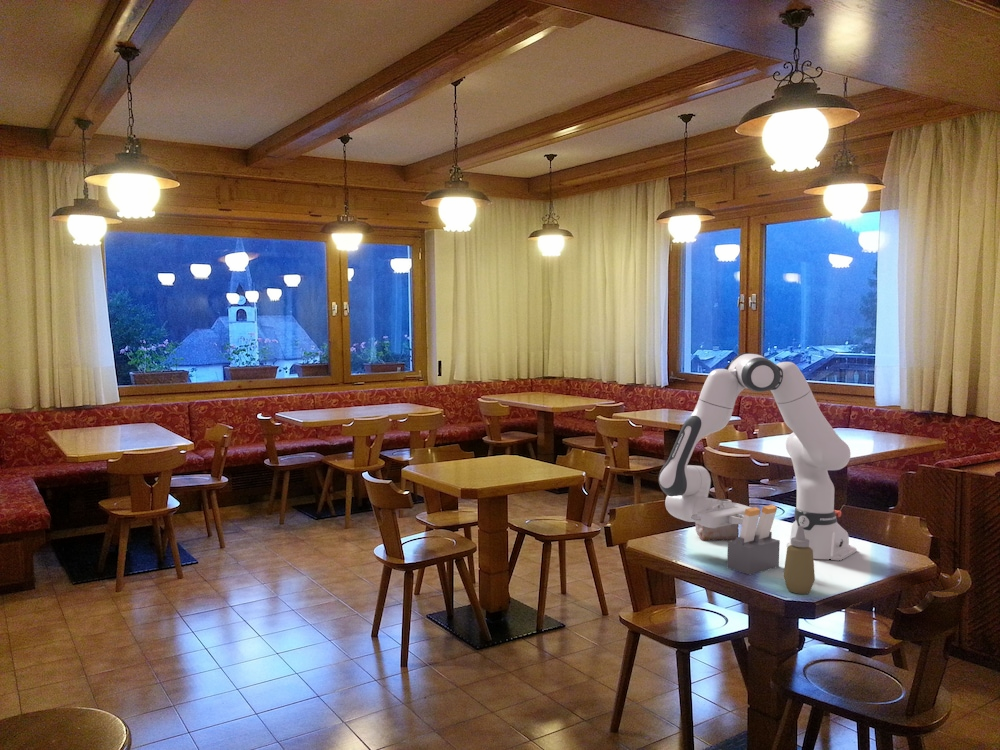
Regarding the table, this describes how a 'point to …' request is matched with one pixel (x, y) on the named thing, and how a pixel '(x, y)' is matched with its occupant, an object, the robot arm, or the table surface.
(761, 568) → the grey holder block
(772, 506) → the orange-tipped white bar
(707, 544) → the table surface
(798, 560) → the squeeze bottle
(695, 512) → the robot arm
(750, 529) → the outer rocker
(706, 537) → the food item
